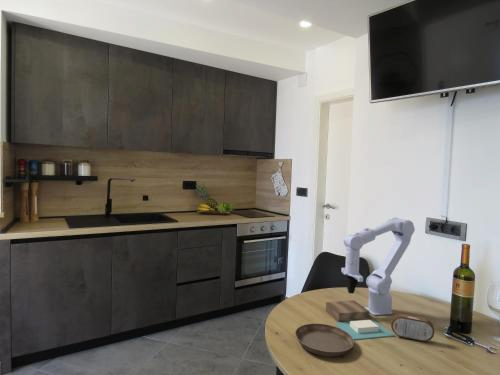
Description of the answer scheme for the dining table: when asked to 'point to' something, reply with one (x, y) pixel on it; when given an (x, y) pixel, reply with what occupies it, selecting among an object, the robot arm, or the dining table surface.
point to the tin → (412, 327)
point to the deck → (347, 311)
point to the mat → (356, 336)
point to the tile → (364, 326)
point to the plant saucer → (324, 339)
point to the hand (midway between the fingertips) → (351, 292)
